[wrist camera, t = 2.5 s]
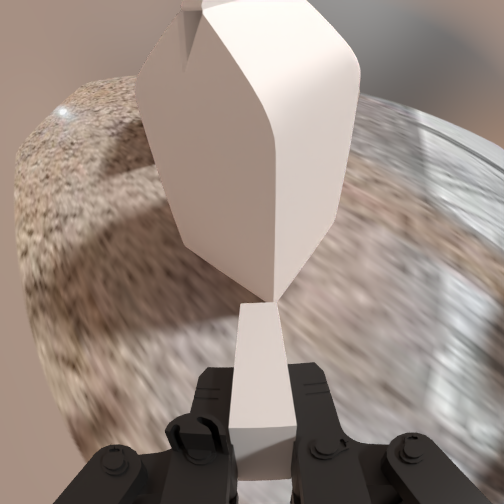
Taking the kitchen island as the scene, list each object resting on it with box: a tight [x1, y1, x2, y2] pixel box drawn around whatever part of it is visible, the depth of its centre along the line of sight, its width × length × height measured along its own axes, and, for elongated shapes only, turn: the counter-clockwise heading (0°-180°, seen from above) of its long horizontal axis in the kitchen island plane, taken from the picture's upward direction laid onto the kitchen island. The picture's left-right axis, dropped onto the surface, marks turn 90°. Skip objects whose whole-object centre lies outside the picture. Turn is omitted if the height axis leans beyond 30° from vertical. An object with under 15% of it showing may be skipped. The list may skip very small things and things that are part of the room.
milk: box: [135, 0, 360, 302], centre depth 19 cm, size 12×12×26 cm
